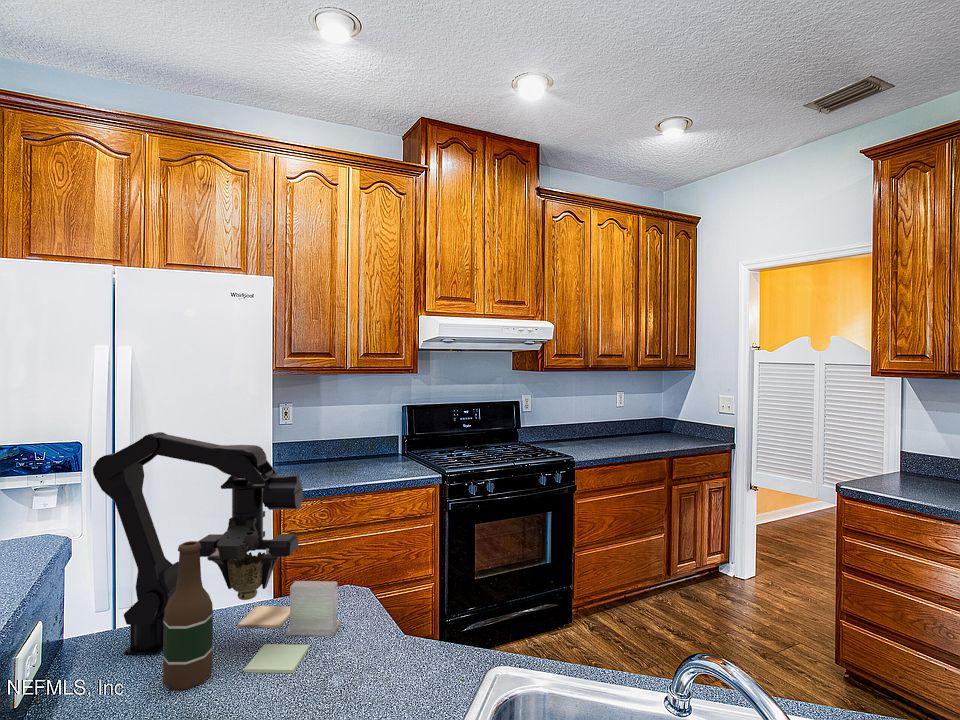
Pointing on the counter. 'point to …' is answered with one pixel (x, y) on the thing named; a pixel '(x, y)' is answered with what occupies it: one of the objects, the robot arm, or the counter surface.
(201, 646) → the beer bottle
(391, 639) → the counter surface
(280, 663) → the sage mat
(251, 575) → the brown ornate lampshade
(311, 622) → the box
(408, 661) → the counter surface
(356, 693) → the counter surface
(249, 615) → the oak mat
